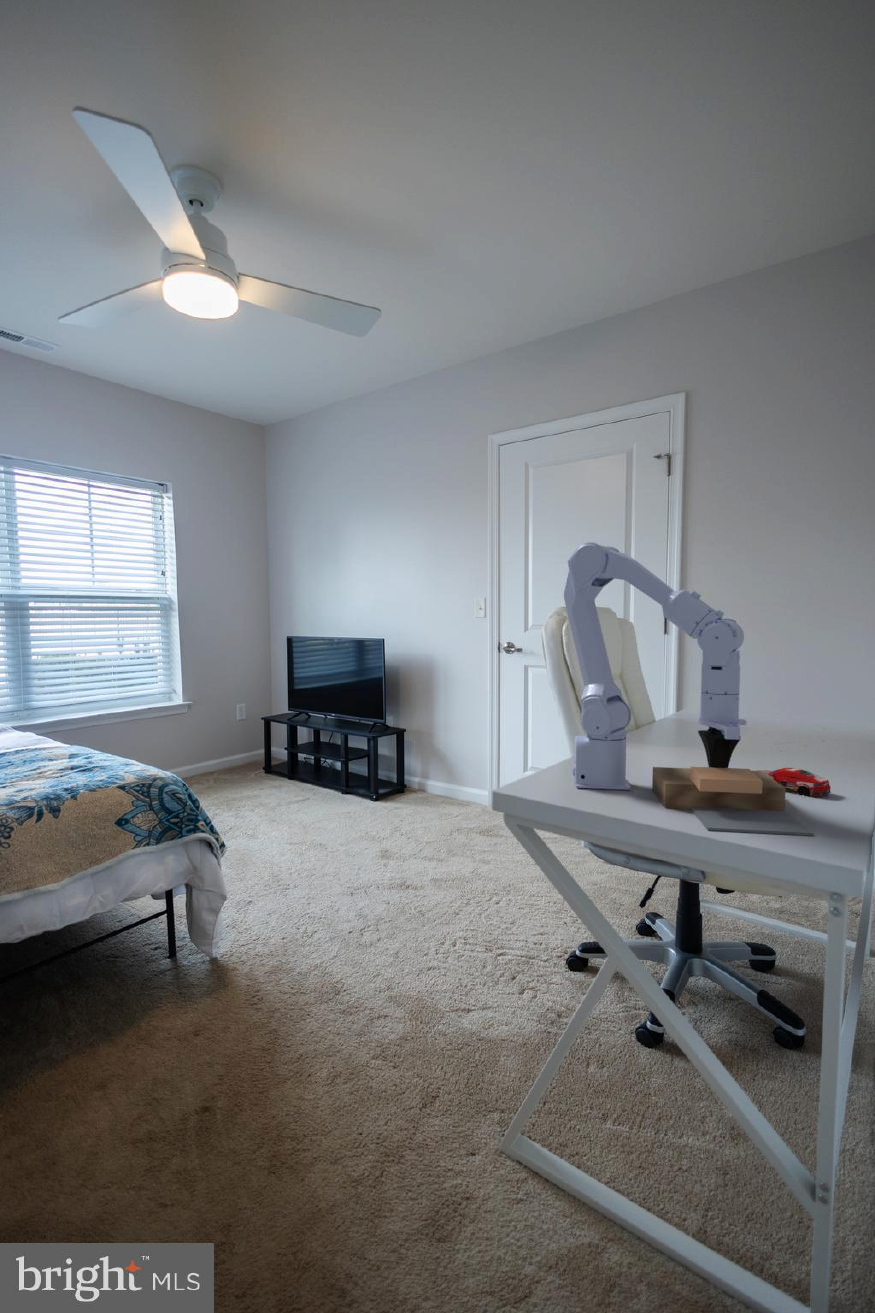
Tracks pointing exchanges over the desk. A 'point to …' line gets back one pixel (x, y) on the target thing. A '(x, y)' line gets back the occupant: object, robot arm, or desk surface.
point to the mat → (750, 821)
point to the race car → (800, 781)
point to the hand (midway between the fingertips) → (717, 774)
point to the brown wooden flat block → (684, 794)
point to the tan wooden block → (726, 780)
